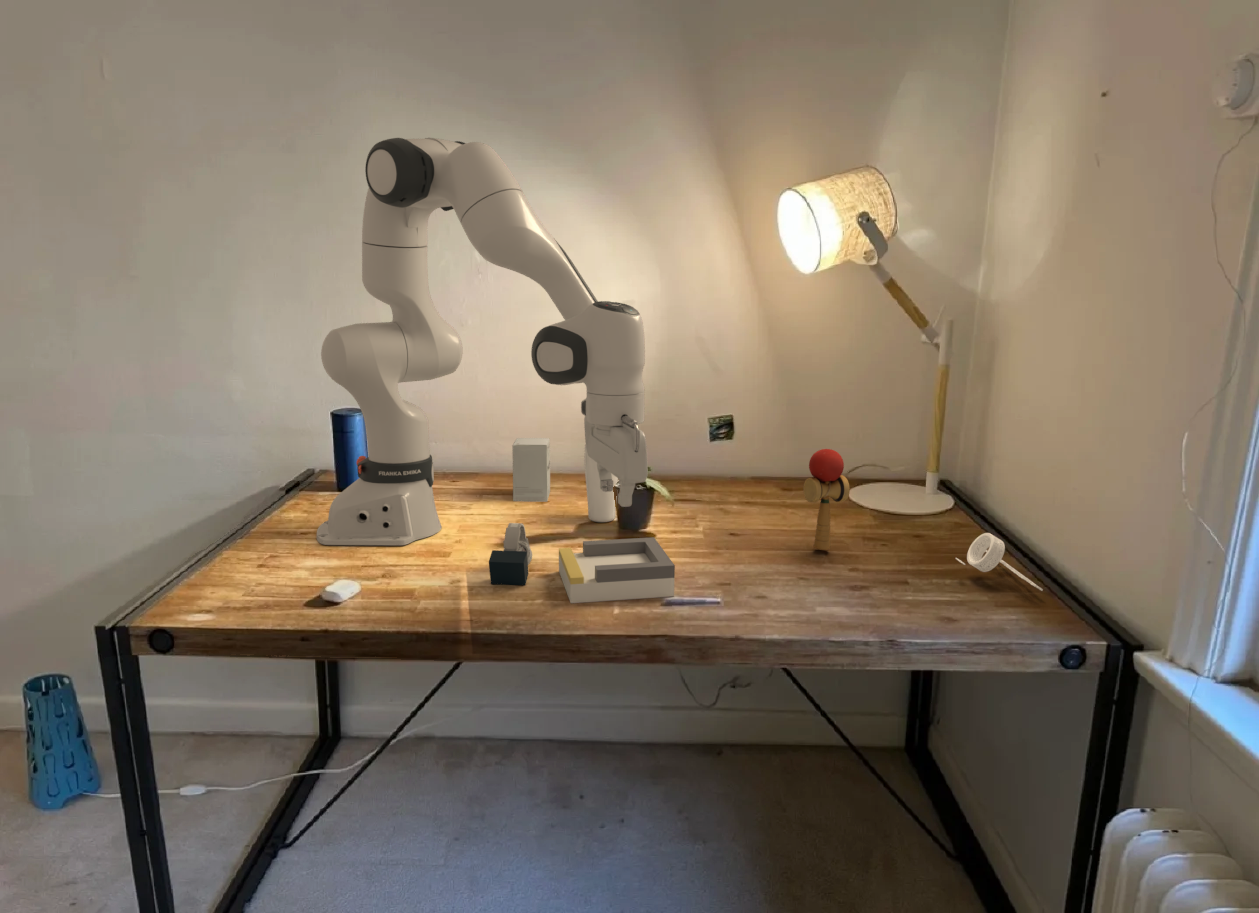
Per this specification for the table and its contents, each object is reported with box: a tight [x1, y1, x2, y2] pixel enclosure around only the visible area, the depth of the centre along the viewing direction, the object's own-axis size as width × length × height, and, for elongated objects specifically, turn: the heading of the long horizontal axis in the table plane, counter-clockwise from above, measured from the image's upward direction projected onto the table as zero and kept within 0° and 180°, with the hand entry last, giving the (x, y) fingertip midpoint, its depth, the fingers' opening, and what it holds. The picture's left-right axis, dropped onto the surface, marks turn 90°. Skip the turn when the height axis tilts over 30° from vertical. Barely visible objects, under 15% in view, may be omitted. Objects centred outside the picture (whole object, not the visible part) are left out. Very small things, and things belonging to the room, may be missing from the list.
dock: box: [558, 536, 676, 604], centre depth 145 cm, size 16×14×5 cm
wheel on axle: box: [955, 532, 1044, 592], centre depth 151 cm, size 18×10×6 cm
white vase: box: [583, 443, 619, 523], centre depth 178 cm, size 7×7×15 cm
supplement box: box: [511, 437, 551, 503], centre depth 192 cm, size 7×7×13 cm
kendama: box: [802, 448, 851, 551], centre depth 162 cm, size 8×6×18 cm
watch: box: [488, 522, 533, 586], centre depth 148 cm, size 6×8×11 cm
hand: (615, 497), depth 142 cm, fingers open, 8 cm apart
